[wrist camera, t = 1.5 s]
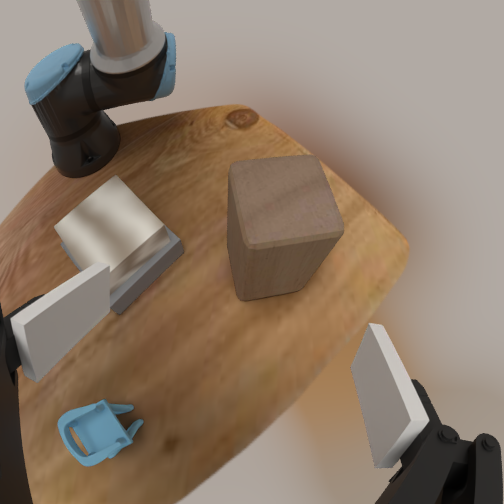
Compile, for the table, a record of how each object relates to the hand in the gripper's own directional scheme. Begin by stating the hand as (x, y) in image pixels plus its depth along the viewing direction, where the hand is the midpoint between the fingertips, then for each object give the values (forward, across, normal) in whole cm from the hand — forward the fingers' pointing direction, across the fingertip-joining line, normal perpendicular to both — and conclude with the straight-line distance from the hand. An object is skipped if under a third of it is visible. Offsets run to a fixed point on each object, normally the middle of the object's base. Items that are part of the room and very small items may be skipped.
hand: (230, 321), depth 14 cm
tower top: (+26, -21, -7) cm, 34 cm away
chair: (+13, -14, -30) cm, 36 cm away
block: (+32, +1, -8) cm, 33 cm away
